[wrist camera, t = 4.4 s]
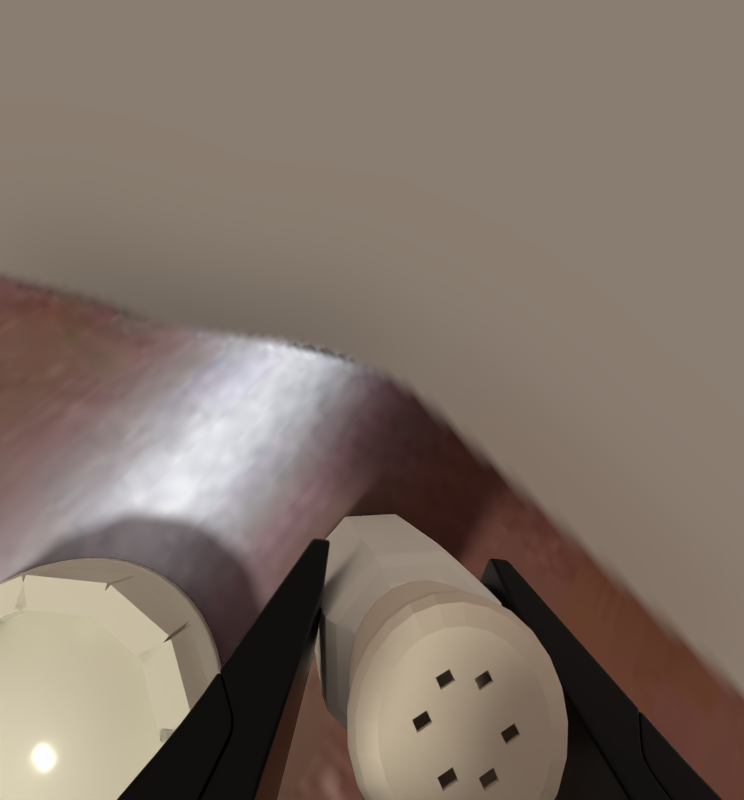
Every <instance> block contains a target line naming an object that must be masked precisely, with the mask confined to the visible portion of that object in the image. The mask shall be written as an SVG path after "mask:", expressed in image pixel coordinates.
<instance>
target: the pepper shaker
mask: <svg viewBox="0 0 744 800" xmlns="http://www.w3.org/2000/svg"><path fill="white" fill-rule="evenodd" d="M325 540H328V541H329V542H330V547H329V555H328V563H327V570H326V577H325V585H324V591H323V598H322V604H321V612H320V621H319V628H318V634H317V640H316V645H315V655H316V661H317V667H318V672H319V678H320V684H321V690H322V695H323V698H324V701H325V704H326V707H327V710H328V711H329V712H330V713H331V714H332V715H333V716H334V717H335V718H336V719H337V720H338V721H339V722H340V723H341V725H342V726H343V727H344V728H345V729H346V730H347V731H348V751H349V755H350V759H351V762H352V766H353V770H354V774H355V778H356V782H357V786H358V788H359V790H360V791H361V793H362V795H363V797H364V799H365V800H554V799H555V797H556V796H557V793H558V790H559V786H560V782H561V778H562V774H563V771H564V767H565V763H566V759H567V739H568V719H567V713H566V707H565V701H564V695H563V690H562V686H561V684H560V681H559V679H558V676H557V673H556V671H555V668H554V666H553V663H552V661H551V658H550V656H549V655H548V653H547V652H546V650H545V649H544V647H543V646H542V644H541V643H540V641H539V640H538V638H537V637H536V635H535V634H534V632H533V631H532V630H531V629H530V628H529V627H528V626H527V625H526V624H524V623H523V622H522V621H521V620H520V619H519V618H518V617H517V616H516V615H515V614H514V613H513V612H512V611H510V610H508V609H506V608H505V607H503V606H502V604H501V602H500V601H499V600H498V599H497V598H496V597H495V596H494V595H493V594H492V593H491V592H490V591H489V590H488V589H487V588H486V587H485V586H484V585H483V584H482V583H481V582H479V581H478V580H477V579H476V578H475V577H474V576H473V575H472V574H471V573H470V572H469V571H468V570H467V569H465V568H464V567H463V566H462V565H461V564H460V563H459V562H458V561H457V560H456V559H455V558H453V557H452V556H451V555H450V554H449V553H448V552H447V551H446V550H444V549H443V548H442V547H441V546H440V545H439V544H438V543H436V542H435V541H433V540H432V539H431V538H429V537H428V536H426V535H425V534H423V533H422V532H421V531H419V530H418V529H416V528H415V527H413V526H412V525H411V524H409V523H408V522H406V521H405V520H403V519H402V518H401V517H399V516H398V515H396V514H386V515H368V516H350V517H345V518H344V519H343V520H342V521H341V522H340V523H339V525H338V526H337V527H336V528H335V529H334V530H333V531H332V532H331V534H330V535H329V536H328V537H327V538H326V539H325Z"/></svg>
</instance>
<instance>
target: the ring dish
mask: <svg viewBox="0 0 744 800" xmlns="http://www.w3.org/2000/svg"><path fill="white" fill-rule="evenodd" d="M221 668H222V667H221V663H220V658H219V654H218V649H217V647H216V644H215V641H214V639H213V636H212V633H211V630H210V629H209V627H208V625H207V623H206V621H205V619H204V617H203V615H202V614H201V612H200V611H199V610H198V608H197V607H196V605H195V604H194V603H193V601H192V600H191V599H190V598H189V597H188V596H187V595H186V594H185V593H184V592H183V591H182V590H181V589H180V588H179V587H178V586H177V585H176V584H174V583H173V582H172V581H170V580H169V579H167V578H166V577H165V576H163V575H161V574H160V573H158V572H156V571H154V570H152V569H150V568H148V567H145V566H142V565H139V564H136V563H133V562H130V561H125V560H119V559H114V558H95V557H92V558H81V559H72V560H66V561H61V562H56V563H52V564H47V565H43V566H39V567H36V568H33V569H31V570H28V571H25V572H22V573H19V574H17V575H15V576H13V577H11V578H9V579H7V580H5V581H2V582H0V800H117V799H118V797H119V796H120V795H121V794H122V793H123V792H124V790H125V789H126V788H127V787H128V786H129V785H130V783H131V782H132V781H133V780H134V779H135V778H136V776H137V775H138V774H139V773H140V772H141V770H142V769H143V768H144V767H145V766H146V765H147V763H148V762H149V761H150V760H151V759H152V758H153V756H154V755H155V754H156V753H157V752H158V750H159V749H160V748H161V747H162V745H163V744H164V743H165V742H166V741H167V739H168V738H169V737H170V736H171V735H172V733H173V732H174V731H175V730H176V728H177V727H178V726H179V725H180V724H181V722H182V721H183V720H184V718H185V717H186V716H187V714H188V713H189V712H190V710H191V709H192V708H193V706H194V705H195V703H196V702H197V701H198V699H199V698H200V697H201V695H202V694H203V693H204V691H205V690H206V689H207V687H208V686H209V684H210V683H211V681H212V680H213V679H214V677H215V676H216V674H218V673H220V669H221Z"/></svg>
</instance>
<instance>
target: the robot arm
mask: <svg viewBox="0 0 744 800" xmlns="http://www.w3.org/2000/svg"><path fill="white" fill-rule="evenodd" d="M329 547H330V542H329V541H328V540H324V539H313V540H312V541H311V542H310V543H309V545H308V546H307V548H306V549H305V550H304V552H303V553H302V555H301V556H300V557H299V559H298V560H297V562H296V563H295V564H294V566H293V567H292V569H291V570H290V572H289V573H288V574H287V576H286V577H285V579H284V580H283V581H282V583H281V584H280V586H279V587H278V589H277V590H276V591H275V593H274V594H273V596H272V597H271V598H270V600H269V601H268V603H267V604H266V605H265V607H264V608H263V610H262V611H261V613H260V614H259V615H258V617H257V618H256V620H255V621H254V622H253V624H252V625H251V627H250V628H249V629H248V631H247V632H246V634H245V635H244V637H243V638H242V639H241V641H240V642H239V644H238V645H237V646H236V648H235V649H234V651H233V652H232V654H231V655H230V656H229V658H228V659H227V661H226V662H225V663H224V665H223V666H222V668H221V669H220V673H218V674H216V676H215V677H214V679H213V680H212V681H211V683H210V684H209V686H208V687H207V689H206V690H205V691H204V693H203V694H202V695H201V697H200V698H199V699H198V701H197V702H196V703H195V705H194V706H193V708H192V709H191V710H190V712H189V713H188V714H187V716H186V717H185V718H184V720H183V721H182V722H181V724H180V725H179V726H178V727H177V728H176V730H175V731H174V732H173V733H172V735H171V736H170V737H169V738H168V739H167V741H166V742H165V743H164V744H163V745H162V747H161V748H160V749H159V750H158V752H157V753H156V754H155V755H154V756H153V758H152V759H151V760H150V761H149V762H148V763H147V765H146V766H145V767H144V768H143V769H142V770H141V772H140V773H139V774H138V775H137V776H136V778H135V779H134V780H133V781H132V782H131V783H130V785H129V786H128V787H127V788H126V789H125V790H124V792H123V793H122V794H121V795H120V796H119V797H118V799H117V800H277V797H278V793H279V789H280V785H281V781H282V777H283V773H284V769H285V765H286V761H287V757H288V753H289V749H290V746H291V742H292V738H293V734H294V730H295V726H296V722H297V718H298V714H299V710H300V706H301V702H302V698H303V694H304V690H305V686H306V682H307V678H308V674H309V670H310V666H311V662H312V658H313V654H314V650H315V645H316V640H317V634H318V628H319V621H320V612H321V604H322V598H323V591H324V585H325V577H326V570H327V563H328V555H329ZM480 582H481V583H482V584H483V585H484V586H485V587H486V588H487V589H488V590H489V591H490V592H491V593H492V594H493V595H494V596H495V597H496V598H497V599H498V600H499V601H500V602H501V604H502V606H503V607H505V608H506V609H508V610H510V611H512V612H513V613H514V614H515V615H516V616H517V617H518V618H519V619H520V620H521V621H522V622H523V623H524V624H526V625H527V626H528V627H529V628H530V629H531V630H532V631H533V632H534V634H535V635H536V637H537V638H538V640H539V641H540V643H541V644H542V646H543V647H544V649H545V650H546V652H547V653H548V655H549V656H550V658H551V661H552V663H553V666H554V668H555V671H556V673H557V676H558V679H559V681H560V684H561V686H562V690H563V695H564V701H565V707H566V713H567V719H568V739H567V759H566V763H565V767H564V771H563V774H562V778H561V782H560V786H559V790H558V793H557V796H556V797H555V799H554V800H722V799H721V798H720V797H719V796H718V794H717V793H716V792H715V791H714V790H713V789H712V788H711V787H710V786H709V785H708V784H707V783H706V782H705V781H704V780H703V779H702V778H701V777H700V776H699V775H698V774H697V773H696V772H695V771H694V770H693V768H692V767H691V766H690V765H689V764H688V763H687V762H686V761H685V760H684V759H683V758H682V757H681V755H680V754H679V753H678V752H677V751H676V750H675V749H674V748H673V747H672V746H671V745H670V743H669V742H668V741H667V740H666V739H665V738H664V737H663V736H662V735H661V734H660V732H659V731H658V730H657V729H656V728H655V727H654V726H653V724H652V723H651V722H650V721H649V720H648V719H647V718H646V717H645V715H644V714H643V713H641V712H639V710H638V708H637V707H636V705H635V704H634V703H633V702H632V701H631V700H630V699H629V698H628V696H627V695H626V694H625V693H624V692H623V691H622V690H621V688H620V687H619V686H618V685H617V684H616V683H615V682H614V681H613V679H612V678H611V677H610V676H609V675H608V674H607V673H606V671H605V670H604V669H603V668H602V667H601V666H600V665H599V664H598V662H597V661H596V660H595V659H594V658H593V657H592V656H591V654H590V653H589V652H588V651H587V650H586V649H585V648H584V647H583V645H582V644H581V643H580V642H579V641H578V640H577V639H576V638H575V636H574V635H573V634H572V633H571V632H570V631H569V630H568V628H567V627H566V626H565V625H564V624H563V623H562V622H561V621H560V619H559V618H558V617H557V616H556V615H555V614H554V613H553V611H552V610H551V609H550V608H549V607H548V606H547V605H546V604H545V602H544V601H543V600H542V599H541V598H540V597H539V596H538V595H537V593H536V592H535V591H534V590H533V589H532V588H531V587H530V585H529V584H528V583H527V582H526V581H525V580H524V579H523V578H522V576H521V575H520V574H519V573H518V572H517V571H516V570H515V568H514V567H513V566H512V565H511V564H510V563H509V562H508V561H506V560H501V559H490V560H489V561H488V563H487V565H486V568H485V570H484V573H483V575H482V577H481V580H480Z"/></svg>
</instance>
